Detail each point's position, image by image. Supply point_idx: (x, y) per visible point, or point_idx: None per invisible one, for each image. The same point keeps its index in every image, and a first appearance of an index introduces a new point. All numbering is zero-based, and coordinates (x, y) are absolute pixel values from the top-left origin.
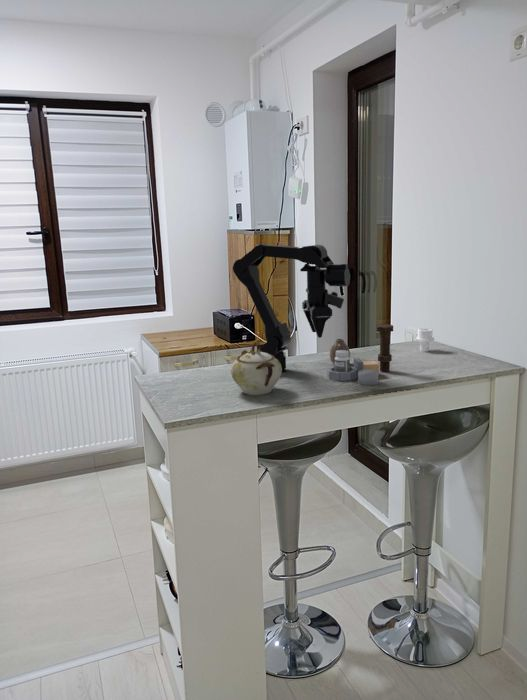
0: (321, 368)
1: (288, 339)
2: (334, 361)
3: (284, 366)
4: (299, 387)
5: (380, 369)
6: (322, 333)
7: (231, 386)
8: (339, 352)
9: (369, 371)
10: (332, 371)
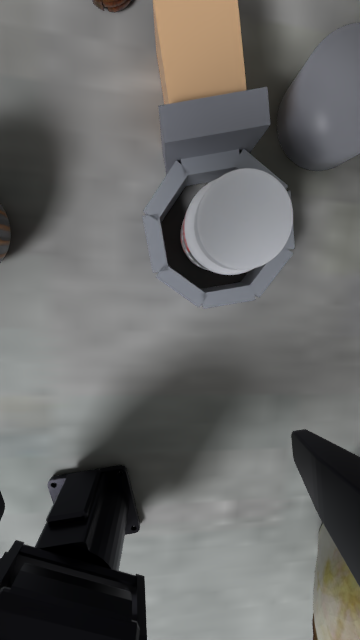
0: (59, 322)
1: (43, 608)
2: (1, 260)
3: (99, 480)
4: (345, 408)
5: (121, 3)
6: (342, 448)
7: (296, 602)
8: (282, 243)
9: (349, 78)
10: (259, 285)
